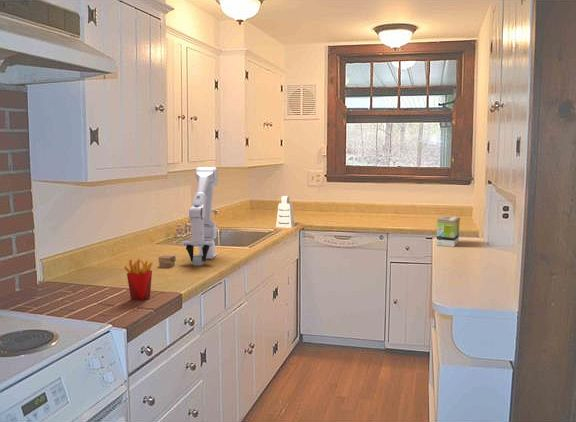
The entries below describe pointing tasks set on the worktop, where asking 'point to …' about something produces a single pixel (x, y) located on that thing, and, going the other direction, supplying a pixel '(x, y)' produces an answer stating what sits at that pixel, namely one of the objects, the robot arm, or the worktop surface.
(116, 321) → the worktop surface
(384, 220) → the worktop surface
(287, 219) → the grater
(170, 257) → the slab top
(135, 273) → the french fries
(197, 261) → the gray cube
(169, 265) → the slab base
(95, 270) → the worktop surface
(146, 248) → the worktop surface
